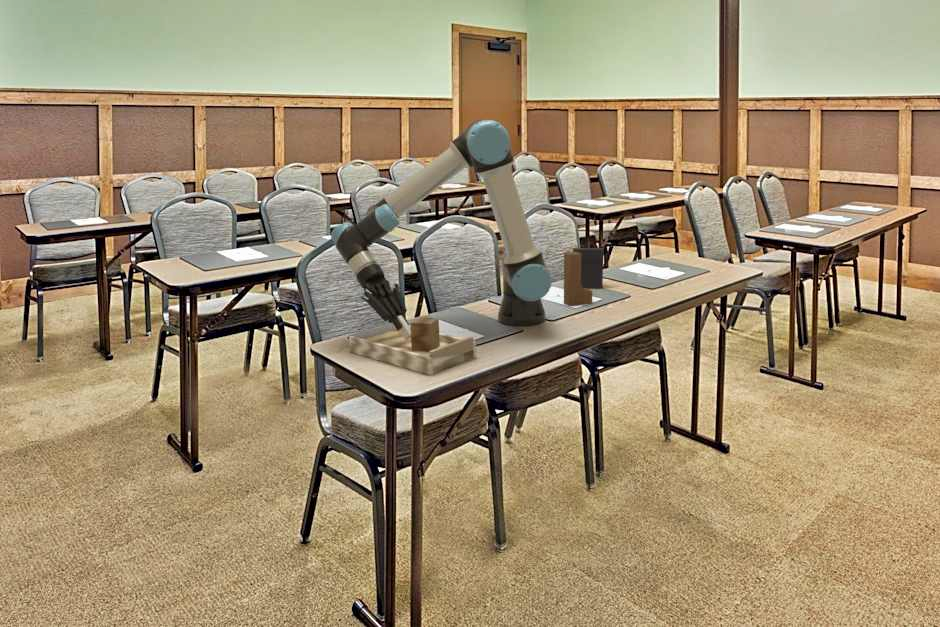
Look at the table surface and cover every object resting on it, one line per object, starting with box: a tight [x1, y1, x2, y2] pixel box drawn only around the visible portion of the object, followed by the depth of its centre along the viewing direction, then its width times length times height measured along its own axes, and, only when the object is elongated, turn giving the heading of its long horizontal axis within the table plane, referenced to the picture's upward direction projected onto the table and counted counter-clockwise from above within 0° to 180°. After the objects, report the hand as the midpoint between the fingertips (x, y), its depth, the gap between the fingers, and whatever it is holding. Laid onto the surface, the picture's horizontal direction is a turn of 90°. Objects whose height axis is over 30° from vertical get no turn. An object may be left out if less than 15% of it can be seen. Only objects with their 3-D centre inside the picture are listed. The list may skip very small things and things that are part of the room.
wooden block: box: [563, 251, 593, 307], centre depth 263 cm, size 9×4×18 cm, turn 109°
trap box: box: [348, 323, 478, 376], centre depth 214 cm, size 32×18×6 cm, turn 49°
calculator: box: [572, 247, 604, 290], centre depth 285 cm, size 11×4×15 cm, turn 86°
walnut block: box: [409, 316, 440, 352], centre depth 211 cm, size 6×6×8 cm
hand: (409, 337), depth 212 cm, fingers closed
